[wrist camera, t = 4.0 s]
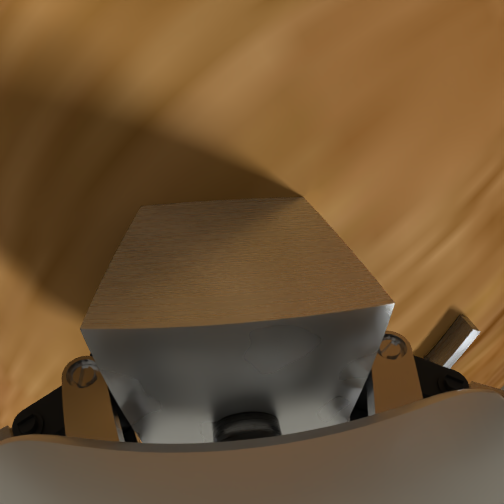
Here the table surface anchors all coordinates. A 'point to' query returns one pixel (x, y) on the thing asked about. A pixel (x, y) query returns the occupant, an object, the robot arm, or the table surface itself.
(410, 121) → the table surface
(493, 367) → the table surface
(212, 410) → the block
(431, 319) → the table surface
